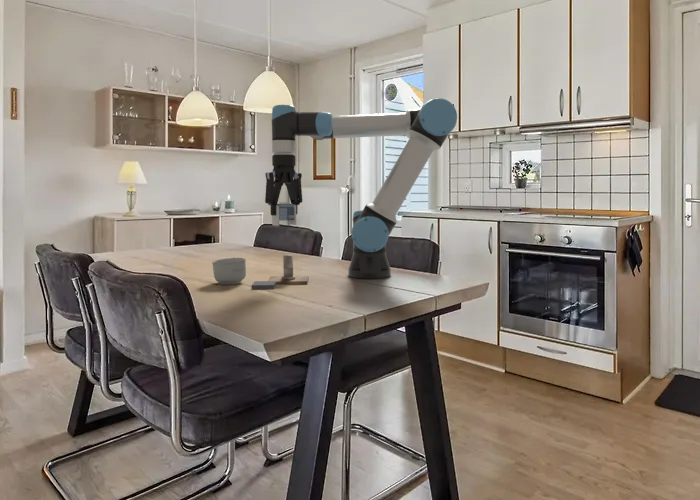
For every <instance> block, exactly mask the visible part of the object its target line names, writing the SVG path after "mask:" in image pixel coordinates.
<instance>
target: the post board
mask: <svg viewBox="0 0 700 500" xmlns="http://www.w3.org/2000/svg"><path fill="white" fill-rule="evenodd" d="M282 261H283V275H282V276H270V277H269V279H268V280H267V281H276V284H277V285H276V286H278V285H308V283H309V276H308V275H305V276H303V275H301V276H300V275H298V276H297V275H294V255H293V254H283V255H282Z"/></svg>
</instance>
